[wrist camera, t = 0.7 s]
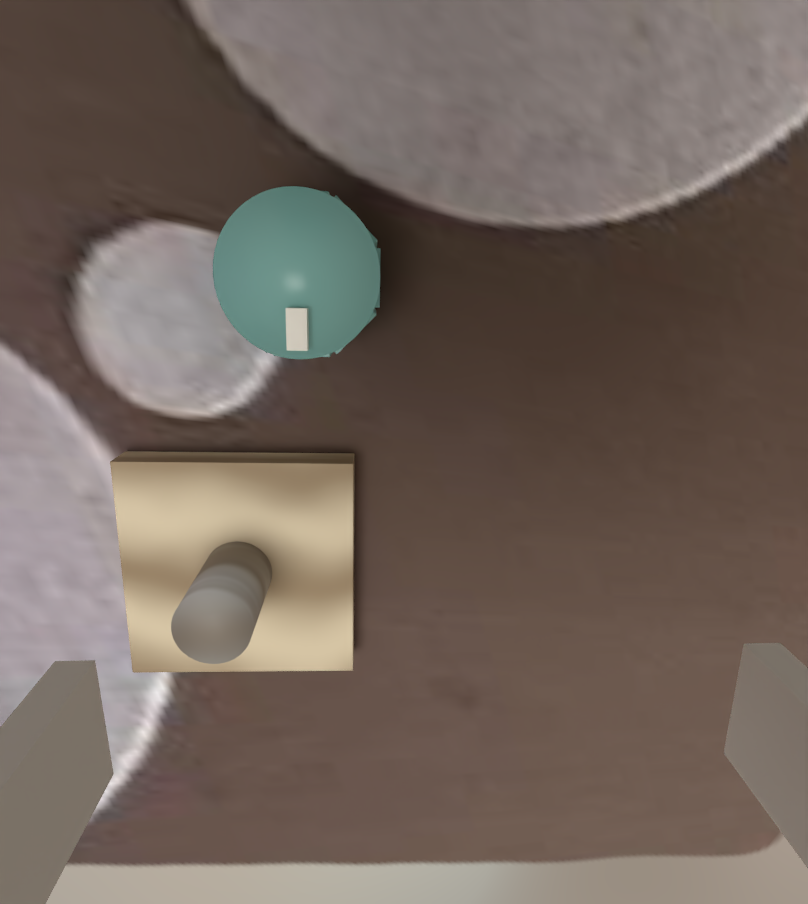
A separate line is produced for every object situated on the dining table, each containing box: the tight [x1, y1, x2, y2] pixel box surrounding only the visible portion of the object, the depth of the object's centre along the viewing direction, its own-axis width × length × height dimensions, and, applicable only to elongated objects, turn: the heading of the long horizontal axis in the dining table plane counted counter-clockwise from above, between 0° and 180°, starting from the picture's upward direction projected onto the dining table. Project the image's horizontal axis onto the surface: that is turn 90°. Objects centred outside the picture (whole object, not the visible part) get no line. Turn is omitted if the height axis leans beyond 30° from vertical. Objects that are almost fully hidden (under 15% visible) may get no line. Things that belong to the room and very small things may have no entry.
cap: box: [213, 186, 380, 359], centre depth 26 cm, size 6×6×8 cm
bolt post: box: [110, 451, 354, 672], centre depth 30 cm, size 12×12×8 cm
